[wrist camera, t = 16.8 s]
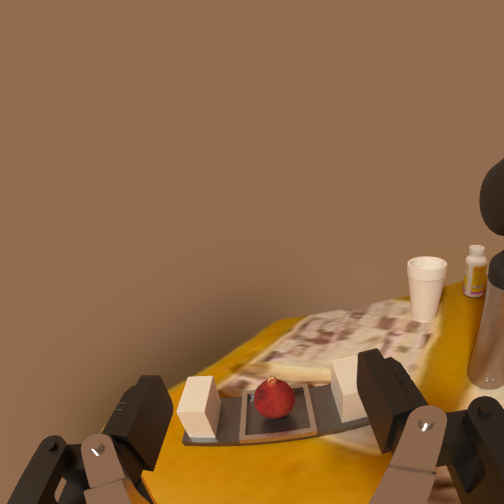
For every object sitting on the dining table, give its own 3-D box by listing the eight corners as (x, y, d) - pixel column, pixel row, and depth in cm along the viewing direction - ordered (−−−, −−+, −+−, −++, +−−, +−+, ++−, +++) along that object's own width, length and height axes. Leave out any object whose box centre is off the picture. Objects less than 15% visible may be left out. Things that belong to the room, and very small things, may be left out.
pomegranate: (268, 434, 32) (259, 398, 30) (251, 411, 37) (242, 374, 35) (303, 418, 34) (300, 380, 32) (285, 397, 39) (279, 360, 37)
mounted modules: (353, 381, 39) (355, 353, 38) (368, 416, 31) (372, 388, 30) (198, 401, 41) (188, 375, 39) (189, 437, 33) (176, 412, 31)
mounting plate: (357, 380, 40) (358, 372, 40) (376, 424, 30) (378, 416, 30) (195, 401, 42) (192, 393, 42) (183, 446, 32) (179, 439, 31)
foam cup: (402, 307, 59) (404, 257, 56) (436, 305, 56) (439, 255, 53) (408, 328, 51) (412, 272, 48) (445, 324, 47) (452, 269, 44)
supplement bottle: (486, 293, 52) (491, 247, 49) (475, 300, 51) (480, 252, 48) (470, 286, 59) (473, 242, 56) (458, 293, 58) (461, 247, 55)
